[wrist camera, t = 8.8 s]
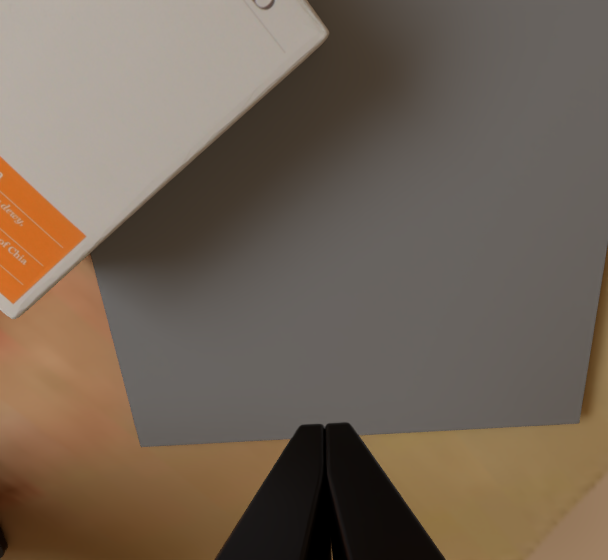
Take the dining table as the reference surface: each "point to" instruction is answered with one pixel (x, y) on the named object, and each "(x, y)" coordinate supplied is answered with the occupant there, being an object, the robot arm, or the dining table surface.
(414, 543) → the robot arm
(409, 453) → the dining table surface
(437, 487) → the dining table surface
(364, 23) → the mat
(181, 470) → the dining table surface
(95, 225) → the skincare box
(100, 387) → the dining table surface
